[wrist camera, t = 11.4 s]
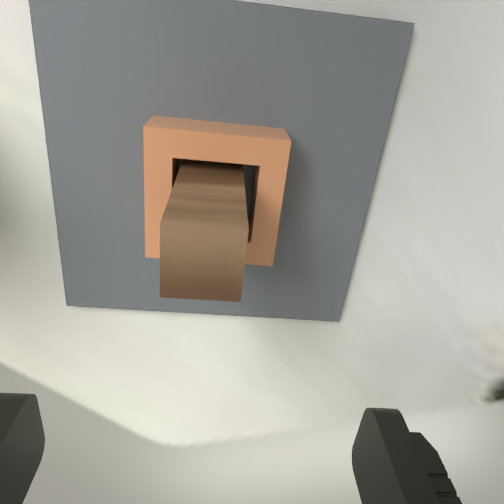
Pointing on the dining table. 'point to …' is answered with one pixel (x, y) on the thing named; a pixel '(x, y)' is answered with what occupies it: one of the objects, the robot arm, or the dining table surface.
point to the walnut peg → (204, 233)
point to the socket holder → (213, 140)
